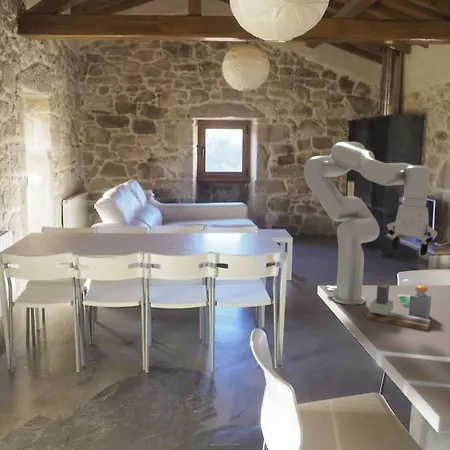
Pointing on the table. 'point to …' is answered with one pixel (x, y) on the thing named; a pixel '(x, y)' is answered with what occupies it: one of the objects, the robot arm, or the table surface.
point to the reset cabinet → (420, 305)
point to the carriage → (382, 301)
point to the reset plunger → (421, 290)
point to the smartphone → (404, 299)
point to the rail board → (401, 320)
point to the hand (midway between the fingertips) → (409, 252)
